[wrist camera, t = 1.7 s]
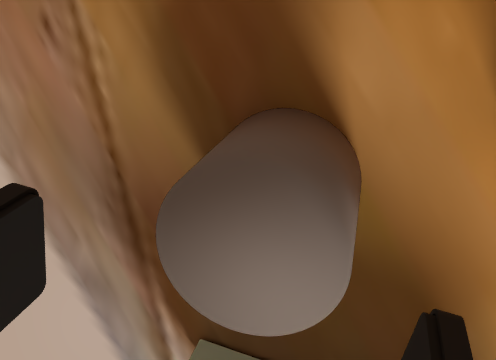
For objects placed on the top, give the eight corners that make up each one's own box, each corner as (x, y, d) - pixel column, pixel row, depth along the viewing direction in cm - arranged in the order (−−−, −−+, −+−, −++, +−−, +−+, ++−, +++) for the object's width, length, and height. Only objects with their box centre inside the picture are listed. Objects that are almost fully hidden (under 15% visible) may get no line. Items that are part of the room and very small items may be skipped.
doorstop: (360, 247, 19) (352, 347, 14) (225, 239, 21) (170, 325, 16) (362, 106, 17) (352, 159, 12) (210, 109, 19) (141, 157, 13)
